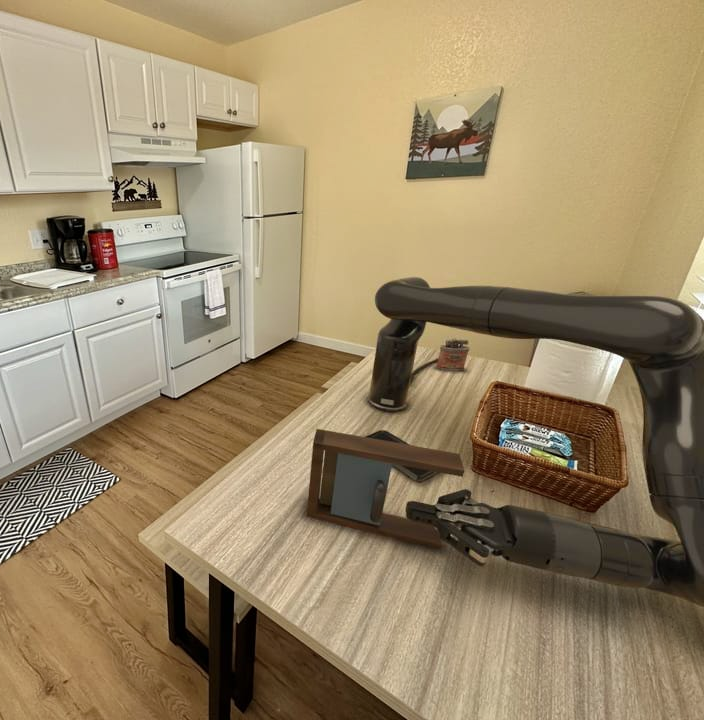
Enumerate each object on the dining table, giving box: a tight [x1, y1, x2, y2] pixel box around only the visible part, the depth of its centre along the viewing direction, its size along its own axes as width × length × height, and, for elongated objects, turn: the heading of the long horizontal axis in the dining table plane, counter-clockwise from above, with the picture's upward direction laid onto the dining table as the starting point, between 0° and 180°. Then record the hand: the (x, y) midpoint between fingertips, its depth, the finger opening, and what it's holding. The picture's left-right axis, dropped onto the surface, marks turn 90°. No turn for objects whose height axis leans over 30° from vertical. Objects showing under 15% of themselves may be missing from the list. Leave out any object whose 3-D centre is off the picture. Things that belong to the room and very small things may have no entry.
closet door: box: [331, 453, 393, 526], centre depth 61 cm, size 4×8×13 cm, turn 70°
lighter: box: [435, 338, 470, 373], centre depth 118 cm, size 8×3×10 cm, turn 80°
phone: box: [365, 429, 439, 483], centre depth 82 cm, size 8×1×15 cm
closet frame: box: [306, 428, 466, 551], centre depth 63 cm, size 4×21×16 cm, turn 70°
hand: (406, 509), depth 58 cm, fingers closed
